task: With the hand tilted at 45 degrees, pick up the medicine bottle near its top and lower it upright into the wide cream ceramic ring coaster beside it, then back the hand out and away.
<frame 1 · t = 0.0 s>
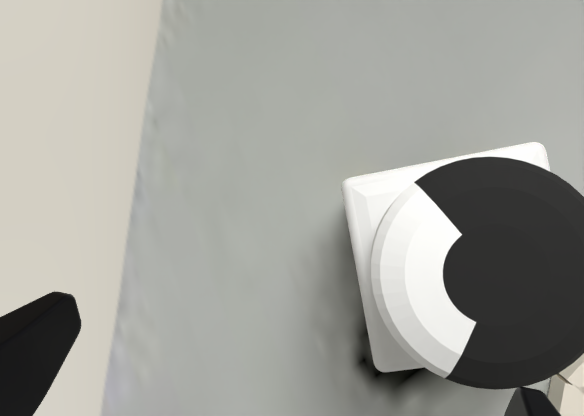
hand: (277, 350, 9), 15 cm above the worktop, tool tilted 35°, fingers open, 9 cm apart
medicine bottle: (432, 248, 24), on the worktop
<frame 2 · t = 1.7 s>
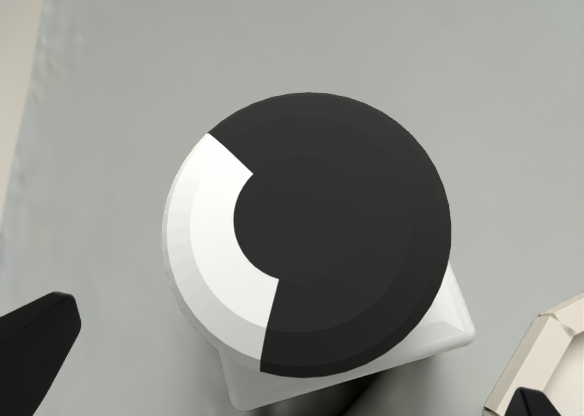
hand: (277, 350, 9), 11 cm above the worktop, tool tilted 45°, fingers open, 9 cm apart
medicine bottle: (329, 279, 21), on the worktop
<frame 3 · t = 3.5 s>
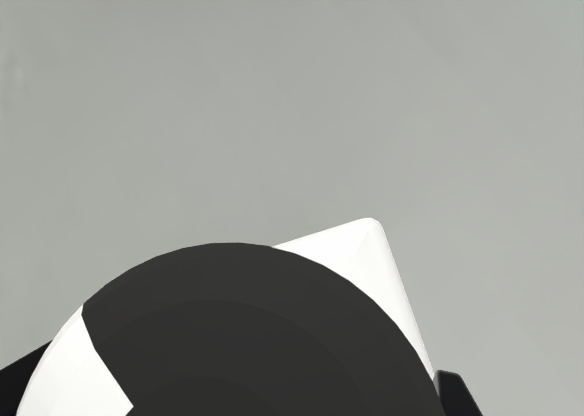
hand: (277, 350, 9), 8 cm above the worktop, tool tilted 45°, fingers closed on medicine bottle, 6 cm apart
medicine bottle: (306, 378, 17), on the worktop, touching gripper
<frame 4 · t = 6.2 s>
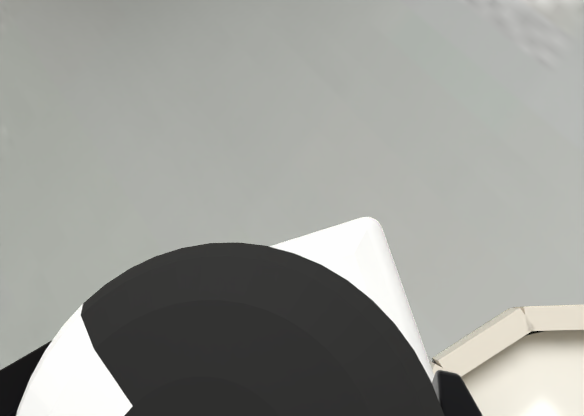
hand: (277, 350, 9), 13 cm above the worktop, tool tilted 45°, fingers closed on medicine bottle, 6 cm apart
medicine bottle: (306, 376, 17), point 5 cm above the worktop, touching gripper
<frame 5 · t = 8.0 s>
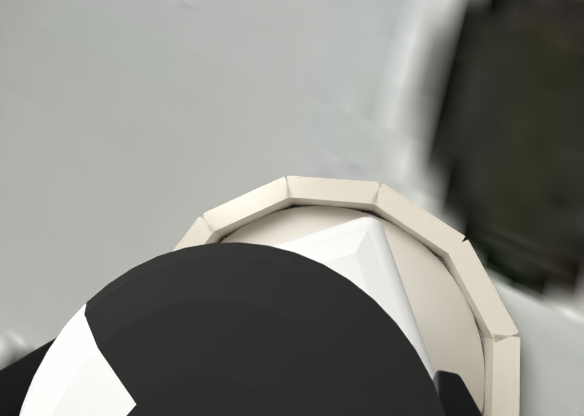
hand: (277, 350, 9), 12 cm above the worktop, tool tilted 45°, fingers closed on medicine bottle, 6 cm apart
medicine bottle: (307, 376, 17), point 4 cm above the worktop, touching gripper
coaster: (317, 361, 21), on the worktop
when the fingers open (9 cm above the worktop, at t = 9.3 s): medicine bottle stays where it is, resting on coaster.
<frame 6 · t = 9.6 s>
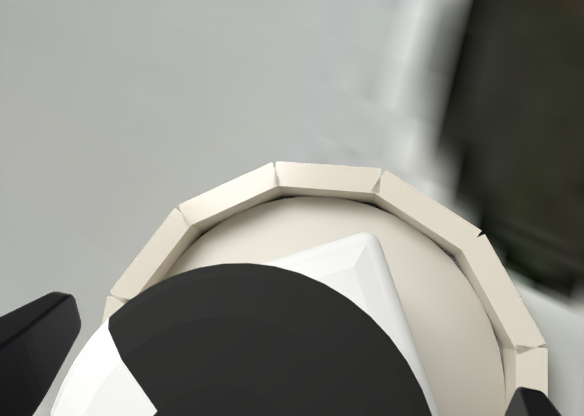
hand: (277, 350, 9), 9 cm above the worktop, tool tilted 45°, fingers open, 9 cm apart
medicine bottle: (308, 381, 18), resting on coaster
coaster: (309, 375, 18), on the worktop
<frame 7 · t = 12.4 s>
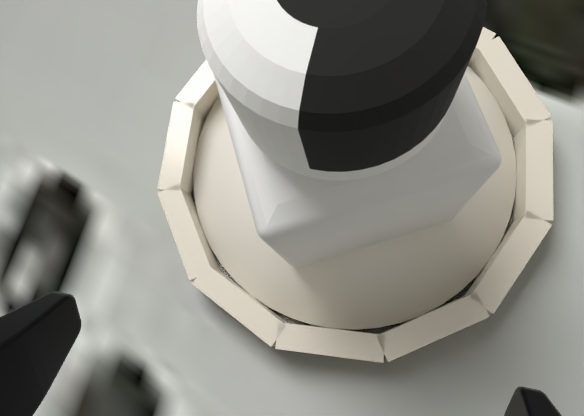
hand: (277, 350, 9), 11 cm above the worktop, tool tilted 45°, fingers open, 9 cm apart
medicine bottle: (346, 169, 21), resting on coaster
coaster: (347, 167, 21), on the worktop
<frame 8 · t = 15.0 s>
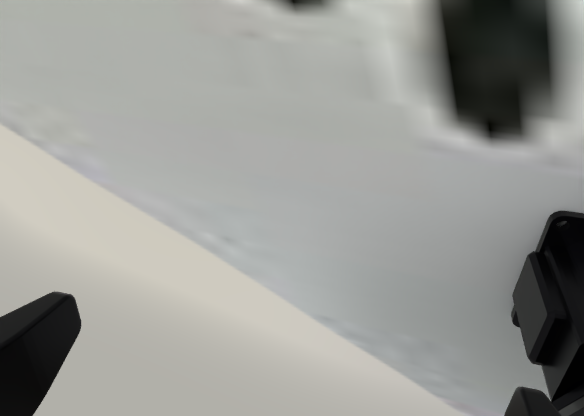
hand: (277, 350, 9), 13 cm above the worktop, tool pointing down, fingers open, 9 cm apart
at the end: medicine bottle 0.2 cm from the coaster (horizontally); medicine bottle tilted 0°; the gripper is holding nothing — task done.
